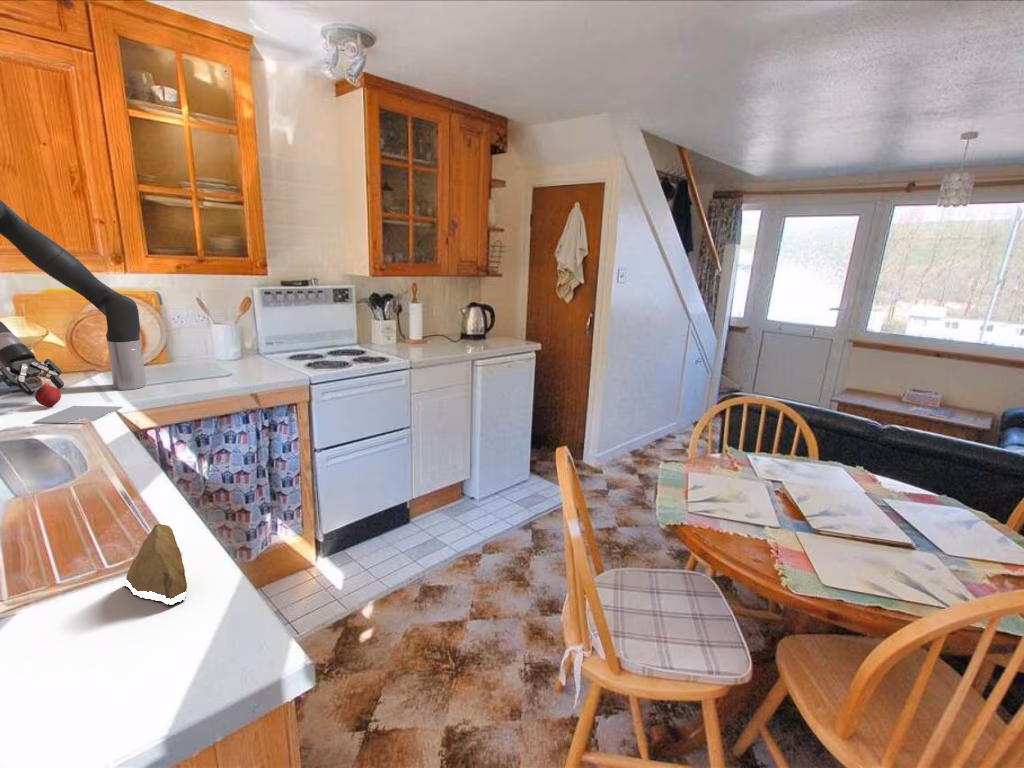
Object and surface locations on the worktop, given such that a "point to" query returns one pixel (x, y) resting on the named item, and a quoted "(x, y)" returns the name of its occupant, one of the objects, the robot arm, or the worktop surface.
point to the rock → (159, 565)
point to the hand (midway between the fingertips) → (47, 390)
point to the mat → (78, 414)
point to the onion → (47, 395)
